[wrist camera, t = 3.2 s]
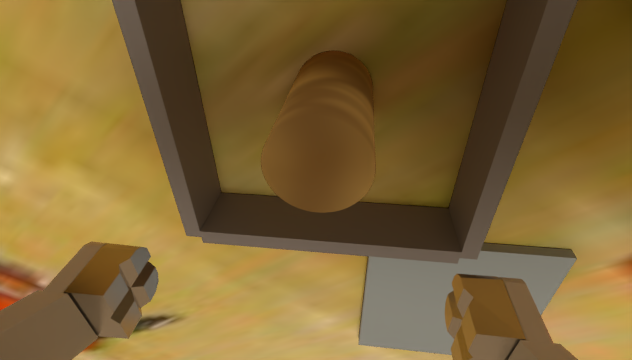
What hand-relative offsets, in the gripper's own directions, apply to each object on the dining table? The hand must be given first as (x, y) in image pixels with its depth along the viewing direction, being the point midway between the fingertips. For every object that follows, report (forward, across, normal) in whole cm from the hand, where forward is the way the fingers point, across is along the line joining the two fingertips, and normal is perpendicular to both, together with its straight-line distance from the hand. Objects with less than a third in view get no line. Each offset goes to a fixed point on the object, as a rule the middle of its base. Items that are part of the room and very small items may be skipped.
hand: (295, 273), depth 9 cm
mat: (+13, -10, +18) cm, 24 cm away
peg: (+13, 0, 0) cm, 13 cm away
